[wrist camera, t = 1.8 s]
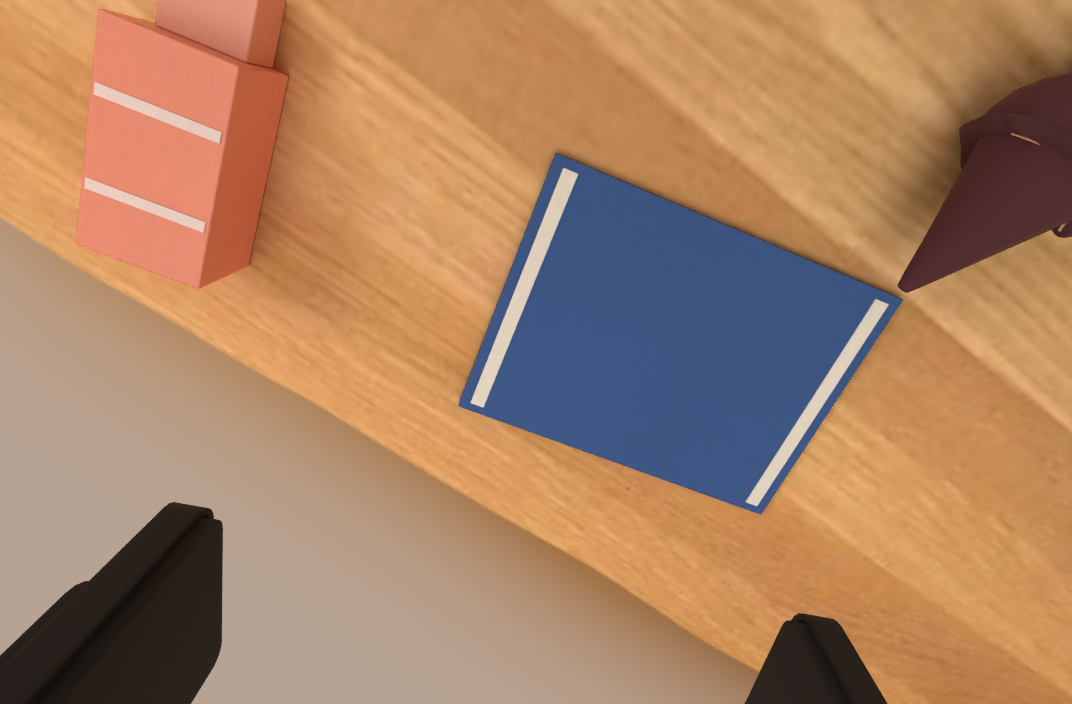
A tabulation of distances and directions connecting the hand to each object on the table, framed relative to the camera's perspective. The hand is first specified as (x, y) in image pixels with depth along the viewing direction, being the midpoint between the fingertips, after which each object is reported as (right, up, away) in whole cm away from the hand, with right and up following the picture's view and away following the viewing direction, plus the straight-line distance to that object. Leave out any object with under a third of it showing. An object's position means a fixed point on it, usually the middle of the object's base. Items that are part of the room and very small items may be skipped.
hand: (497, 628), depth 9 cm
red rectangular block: (-15, +16, +19) cm, 29 cm away
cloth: (+8, +4, +23) cm, 25 cm away
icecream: (+23, +14, +19) cm, 33 cm away
